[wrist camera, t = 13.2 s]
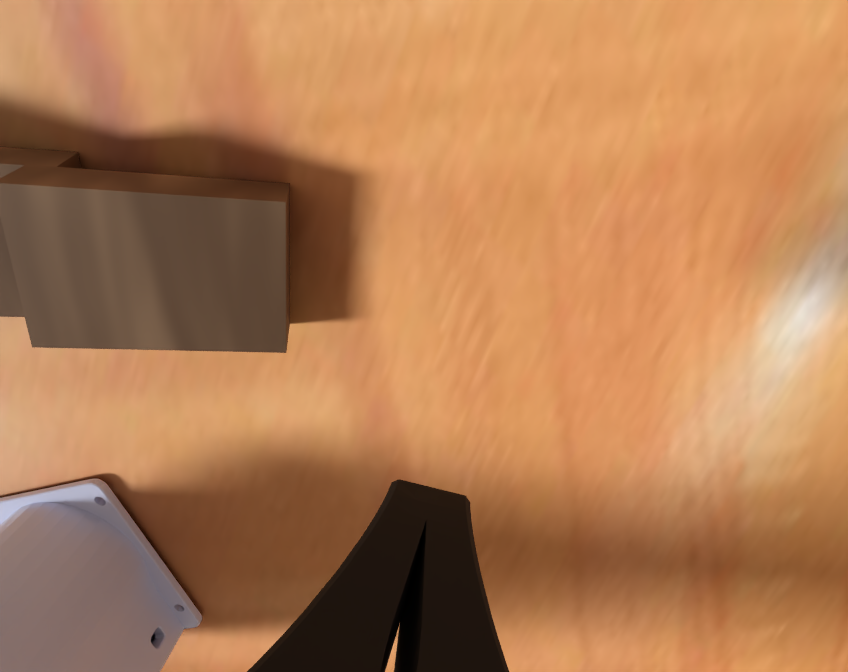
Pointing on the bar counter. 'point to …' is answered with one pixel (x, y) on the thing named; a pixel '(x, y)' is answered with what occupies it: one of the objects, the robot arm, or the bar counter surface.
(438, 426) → the bar counter surface
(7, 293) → the domino
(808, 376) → the bar counter surface
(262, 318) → the domino
